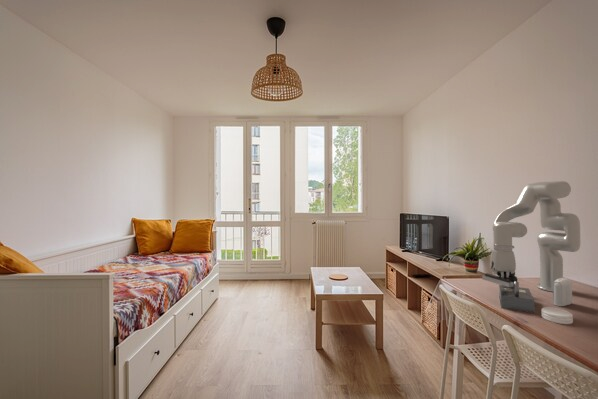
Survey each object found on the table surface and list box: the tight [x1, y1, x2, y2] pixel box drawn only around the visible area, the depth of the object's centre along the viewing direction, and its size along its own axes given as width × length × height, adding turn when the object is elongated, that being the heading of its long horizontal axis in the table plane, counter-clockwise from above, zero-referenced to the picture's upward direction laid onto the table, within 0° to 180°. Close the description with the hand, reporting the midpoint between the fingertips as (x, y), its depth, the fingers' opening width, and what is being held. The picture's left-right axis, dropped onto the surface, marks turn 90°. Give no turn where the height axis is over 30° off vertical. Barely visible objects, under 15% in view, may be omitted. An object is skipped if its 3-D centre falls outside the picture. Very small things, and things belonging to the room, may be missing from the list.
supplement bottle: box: [508, 272, 519, 282], centre depth 153 cm, size 7×7×12 cm
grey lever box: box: [498, 281, 535, 314], centre depth 137 cm, size 18×12×12 cm, turn 147°
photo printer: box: [552, 277, 573, 307], centre depth 136 cm, size 10×4×12 cm, turn 115°
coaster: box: [540, 306, 574, 325], centre depth 120 cm, size 10×10×4 cm
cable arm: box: [481, 272, 514, 287], centre depth 140 cm, size 14×3×3 cm, turn 16°
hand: (503, 284), depth 142 cm, fingers closed
